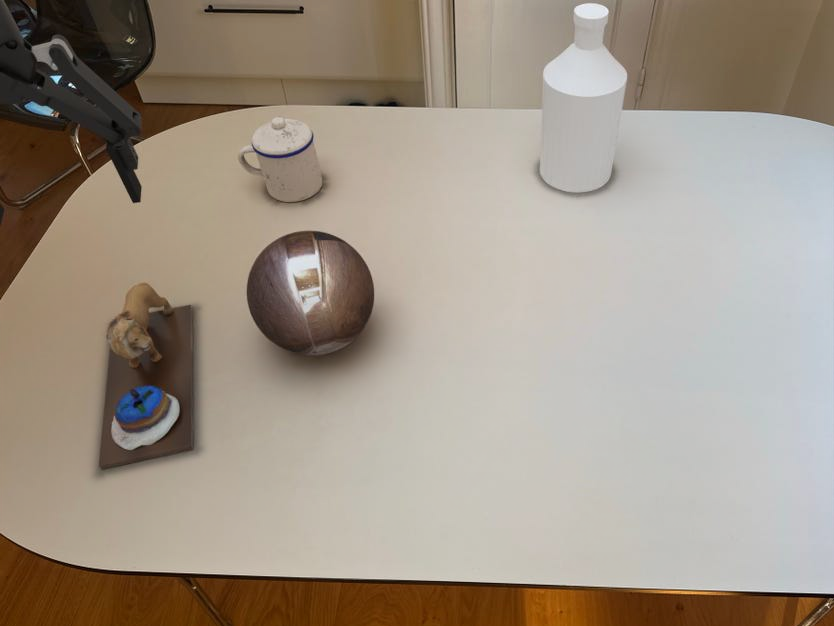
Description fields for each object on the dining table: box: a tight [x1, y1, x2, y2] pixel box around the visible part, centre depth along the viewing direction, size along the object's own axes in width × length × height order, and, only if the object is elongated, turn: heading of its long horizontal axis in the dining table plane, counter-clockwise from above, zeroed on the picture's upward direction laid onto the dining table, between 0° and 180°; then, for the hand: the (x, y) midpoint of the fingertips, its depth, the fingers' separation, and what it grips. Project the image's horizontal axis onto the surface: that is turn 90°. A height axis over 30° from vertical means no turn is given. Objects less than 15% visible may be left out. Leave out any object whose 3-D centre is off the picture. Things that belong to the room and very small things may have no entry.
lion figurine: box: [105, 282, 173, 368], centre depth 86 cm, size 15×5×9 cm, turn 14°
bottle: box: [539, 2, 628, 194], centre depth 103 cm, size 12×12×25 cm
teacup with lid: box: [237, 116, 323, 203], centre depth 107 cm, size 12×9×12 cm
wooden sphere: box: [246, 230, 375, 356], centre depth 85 cm, size 15×15×15 cm
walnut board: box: [98, 304, 194, 470], centre depth 86 cm, size 10×23×1 cm, turn 15°
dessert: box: [111, 385, 180, 450], centre depth 81 cm, size 8×7×6 cm
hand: (69, 206), depth 73 cm, fingers open, 13 cm apart
